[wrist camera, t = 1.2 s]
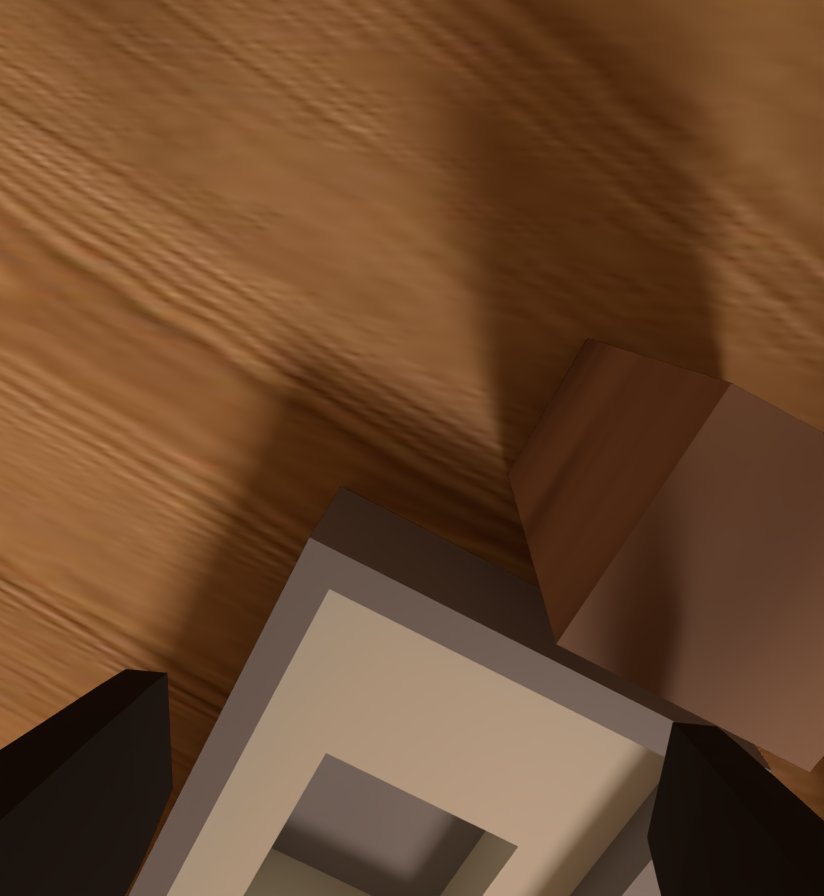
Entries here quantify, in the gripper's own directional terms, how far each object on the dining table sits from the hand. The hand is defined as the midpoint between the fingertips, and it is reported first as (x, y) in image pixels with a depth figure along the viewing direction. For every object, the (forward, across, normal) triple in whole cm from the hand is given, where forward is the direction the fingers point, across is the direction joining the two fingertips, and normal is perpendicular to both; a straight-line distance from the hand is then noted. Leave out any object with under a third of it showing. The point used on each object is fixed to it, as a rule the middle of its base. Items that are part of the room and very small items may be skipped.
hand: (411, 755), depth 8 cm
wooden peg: (+10, -5, -2) cm, 12 cm away
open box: (+10, +1, +11) cm, 15 cm away
